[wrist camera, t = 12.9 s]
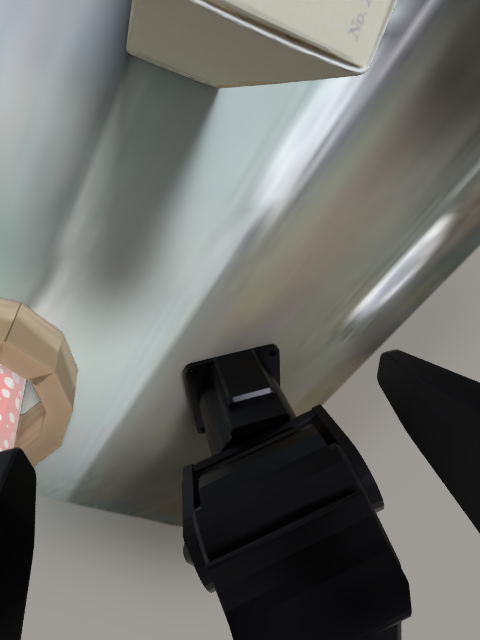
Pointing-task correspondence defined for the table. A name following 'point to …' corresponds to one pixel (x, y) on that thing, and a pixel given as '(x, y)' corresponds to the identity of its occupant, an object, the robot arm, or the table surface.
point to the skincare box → (258, 38)
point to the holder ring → (38, 377)
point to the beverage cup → (10, 405)
